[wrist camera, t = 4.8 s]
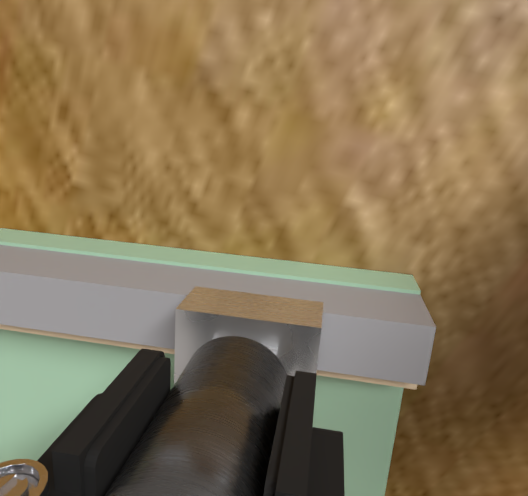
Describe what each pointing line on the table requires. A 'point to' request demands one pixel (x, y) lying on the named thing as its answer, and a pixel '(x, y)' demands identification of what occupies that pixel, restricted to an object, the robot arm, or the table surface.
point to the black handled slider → (223, 395)
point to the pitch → (163, 335)
